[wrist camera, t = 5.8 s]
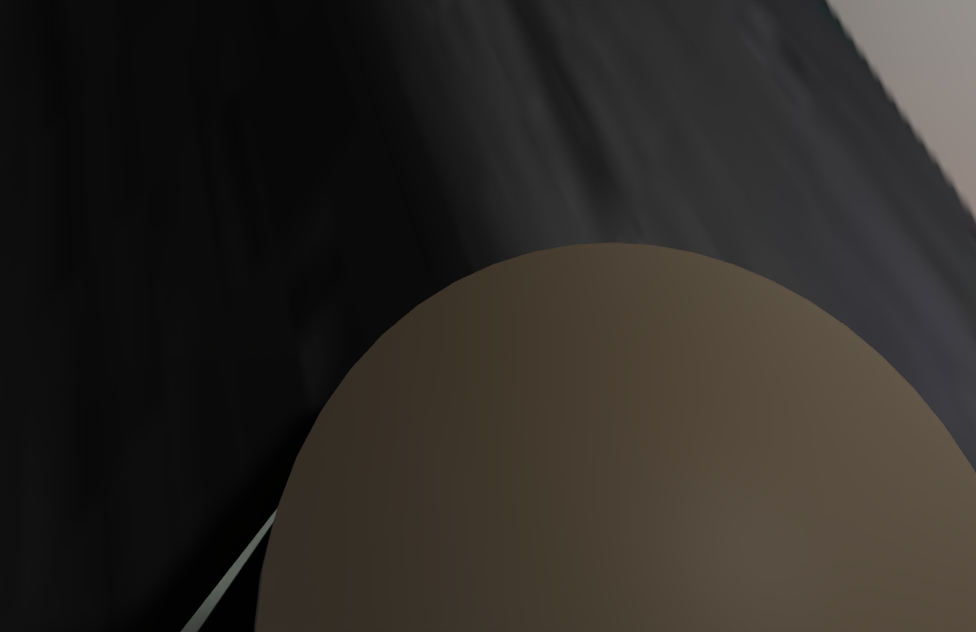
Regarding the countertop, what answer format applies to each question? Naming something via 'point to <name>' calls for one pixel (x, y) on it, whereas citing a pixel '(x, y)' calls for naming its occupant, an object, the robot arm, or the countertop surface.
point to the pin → (622, 466)
